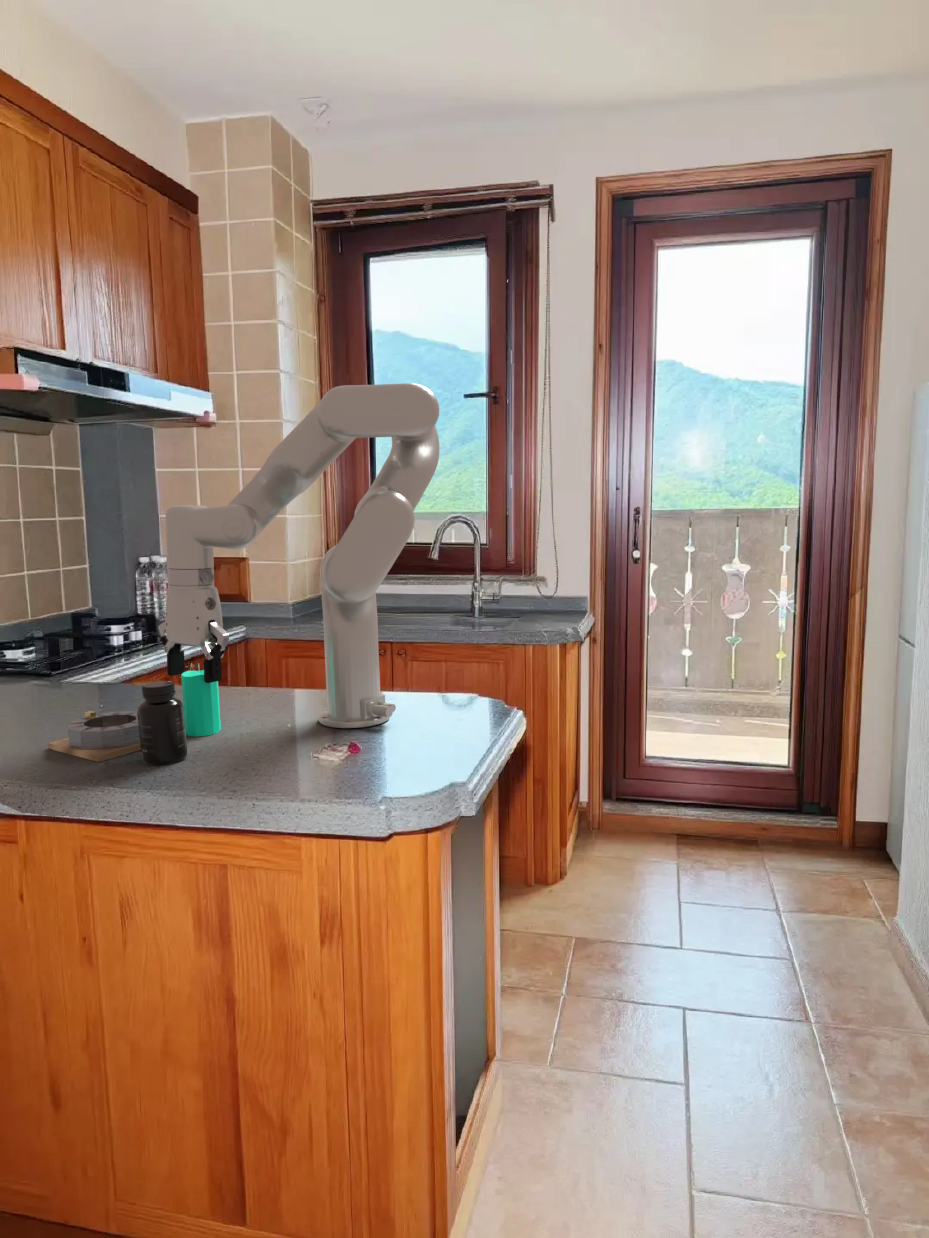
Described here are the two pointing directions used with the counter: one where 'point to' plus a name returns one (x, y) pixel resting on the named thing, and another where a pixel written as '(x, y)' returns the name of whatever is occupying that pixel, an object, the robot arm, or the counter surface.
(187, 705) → the candle
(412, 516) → the robot arm
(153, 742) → the supplement bottle
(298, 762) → the counter surface
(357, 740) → the counter surface
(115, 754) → the oak board
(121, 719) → the steel collar
